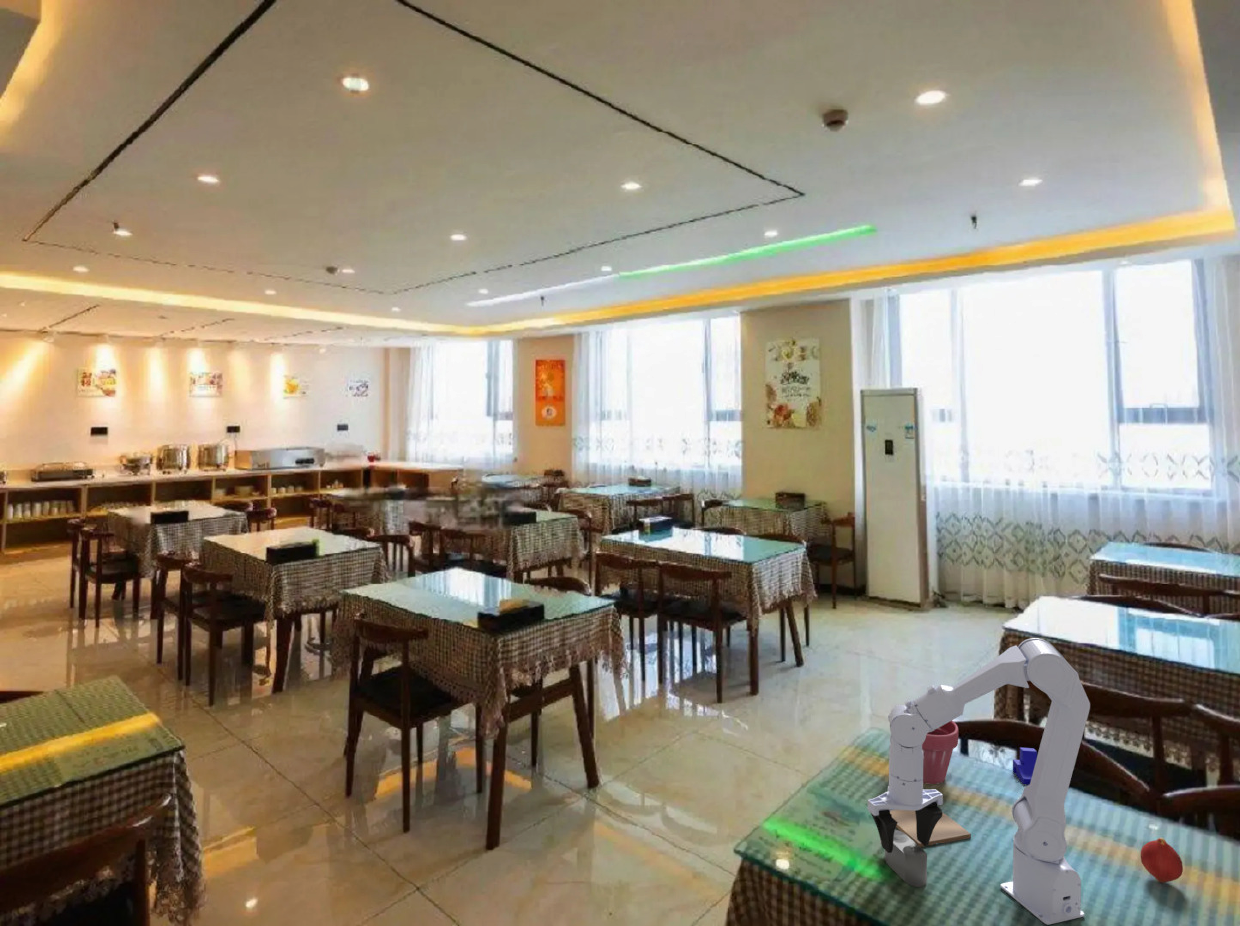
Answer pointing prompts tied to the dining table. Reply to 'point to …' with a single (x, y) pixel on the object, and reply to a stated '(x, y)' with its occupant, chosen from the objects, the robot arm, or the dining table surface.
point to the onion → (1161, 860)
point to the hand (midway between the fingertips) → (904, 846)
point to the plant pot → (938, 752)
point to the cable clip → (1025, 765)
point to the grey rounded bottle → (908, 860)
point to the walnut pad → (941, 833)
